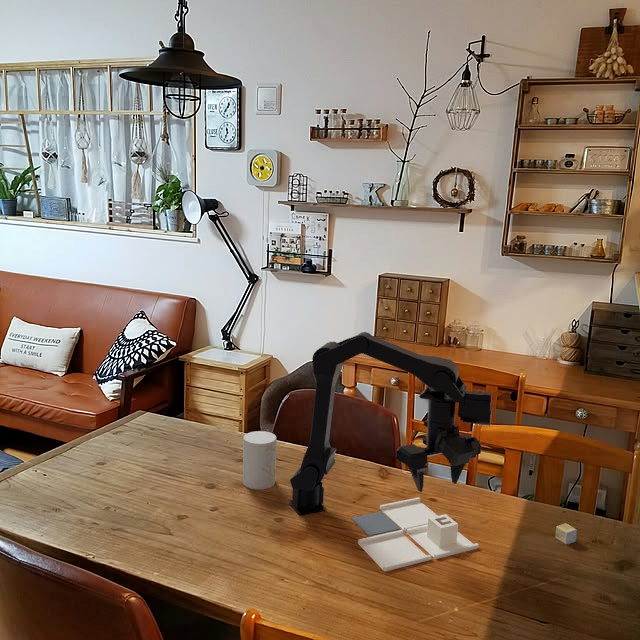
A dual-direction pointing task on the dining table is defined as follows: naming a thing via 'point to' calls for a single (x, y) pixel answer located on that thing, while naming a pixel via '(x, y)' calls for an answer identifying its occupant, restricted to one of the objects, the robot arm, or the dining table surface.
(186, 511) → the dining table surface
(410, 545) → the tray
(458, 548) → the tray
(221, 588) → the dining table surface
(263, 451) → the white cylinder
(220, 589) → the dining table surface
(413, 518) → the tray
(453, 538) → the letter cube
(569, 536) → the alphabet block
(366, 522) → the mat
